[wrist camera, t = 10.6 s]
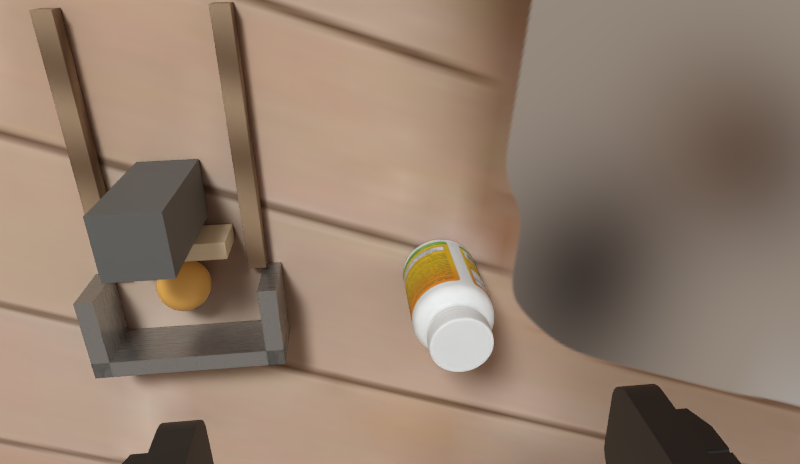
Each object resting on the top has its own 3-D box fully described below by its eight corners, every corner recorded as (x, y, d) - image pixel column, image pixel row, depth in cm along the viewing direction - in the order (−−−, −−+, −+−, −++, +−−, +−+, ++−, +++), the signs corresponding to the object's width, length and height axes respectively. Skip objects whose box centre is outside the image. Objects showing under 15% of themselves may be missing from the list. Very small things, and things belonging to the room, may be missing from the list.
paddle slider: (112, 163, 39) (53, 218, 31) (221, 157, 40) (191, 210, 31) (132, 245, 42) (82, 316, 34) (234, 239, 42) (209, 307, 34)
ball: (162, 321, 42) (168, 276, 44) (214, 317, 42) (218, 273, 44) (145, 298, 39) (152, 250, 41) (201, 294, 39) (206, 247, 41)
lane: (38, 8, 35) (29, 10, 34) (233, 1, 36) (229, 3, 35) (108, 269, 42) (101, 278, 41) (267, 259, 43) (266, 267, 42)
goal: (96, 274, 42) (73, 304, 39) (281, 262, 43) (275, 290, 40) (115, 344, 45) (95, 378, 41) (289, 331, 46) (285, 363, 42)
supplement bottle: (392, 290, 45) (404, 371, 36) (417, 228, 43) (436, 298, 34) (457, 308, 46) (485, 390, 38) (484, 248, 44) (520, 320, 36)
